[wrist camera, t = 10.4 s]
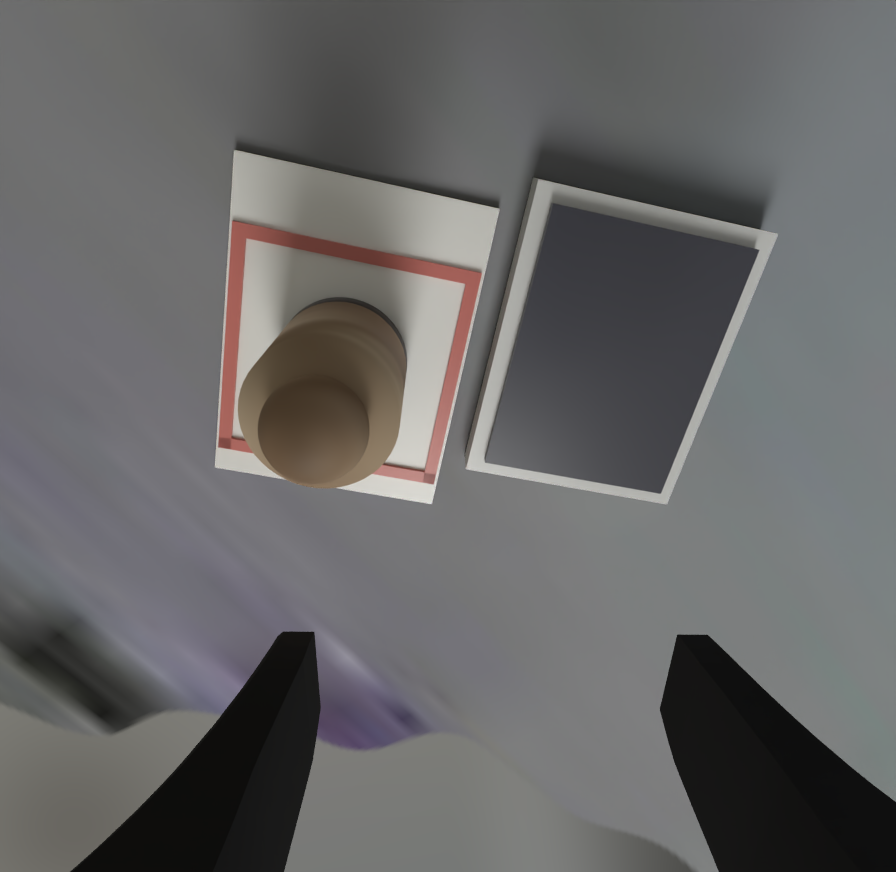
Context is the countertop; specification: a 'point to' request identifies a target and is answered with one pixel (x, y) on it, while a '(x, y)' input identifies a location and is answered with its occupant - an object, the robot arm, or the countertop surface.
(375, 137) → the countertop surface
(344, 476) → the stamp
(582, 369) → the ink pad
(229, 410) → the sheet
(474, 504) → the countertop surface
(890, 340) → the countertop surface
